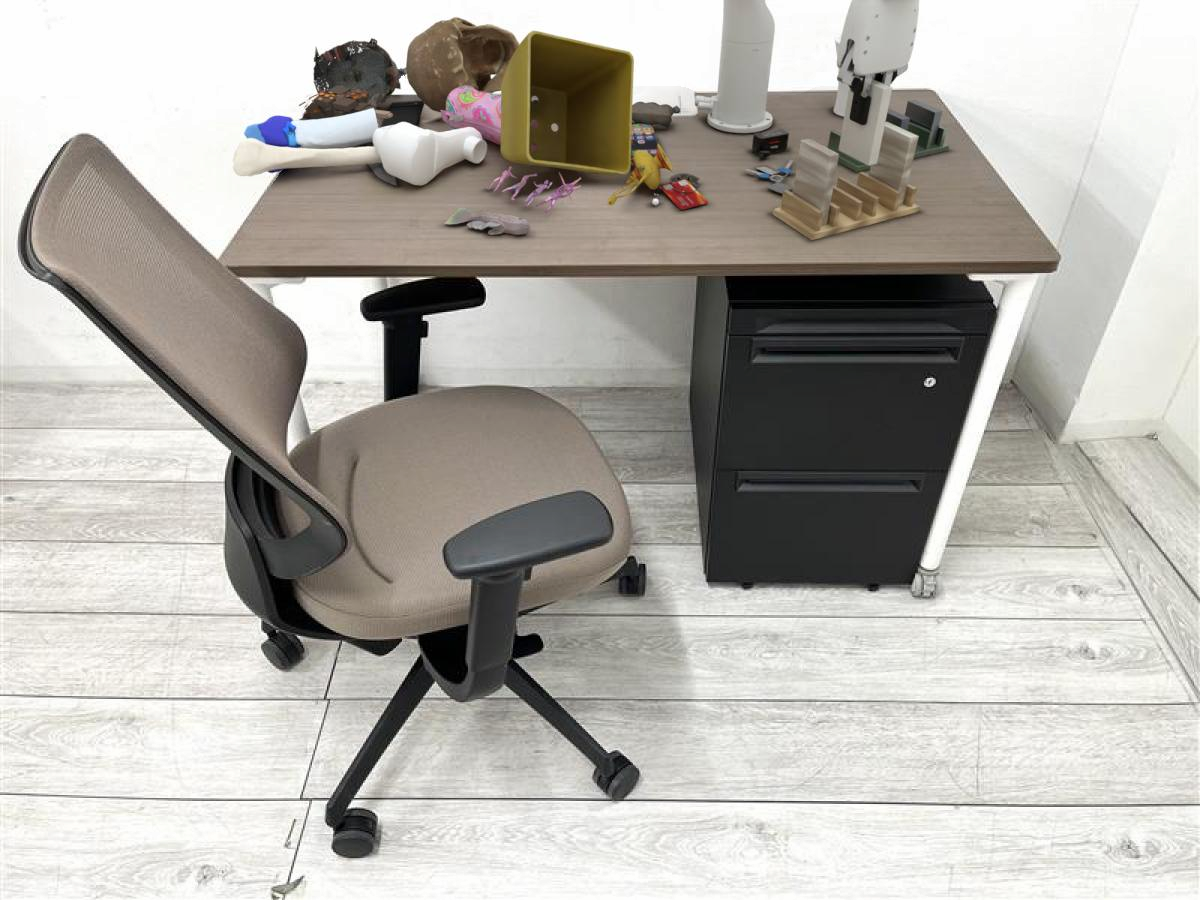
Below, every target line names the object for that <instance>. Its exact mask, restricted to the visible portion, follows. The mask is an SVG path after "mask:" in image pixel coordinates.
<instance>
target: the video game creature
mask: <svg viewBox="0 0 1200 900" xmlns="http://www.w3.org/2000/svg"><path fill="white" fill-rule="evenodd" d="M323 92H324V91H322V92H319V93H316V94H314V95H312V94H311V93H310V94H308V95H306V96H305V98H307V97H308V99H306V101H311V103H310V104H309V103H307V102H306V101H303V102H302V103H300V104H298V106H299V107H301V106H302V105H304V104H306V105H304V107H303V109H304V110H305V111H304V112H303V113H302V115H301V116H302V117H301V118H299V119H298V120H313V119H315V120H316V119H323V118H332V117H338V116H343V115H348V114H352V113H356V112H360V111H364V110H368V109H371V108H374V110H375V114H376V118H377V119H387V118H391V117H392V116H393V114H392V113H391V112H389V111H388V110H381V109H377V107H376V106H374V107H370V105H369V103H367V100H368V99H369V98H370V97H369V92H367V91H365V92H364V91H360V89H356V90H355V89H354V90H353V91H351V88H346V87H342V86H338V85H337V86H335V87H333V88H331V89H330V90H328V91H327V93H323ZM311 95H312V96H311ZM312 98H313V99H312Z"/></svg>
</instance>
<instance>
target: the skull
mask: <svg viewBox="0 0 1200 900" xmlns="http://www.w3.org/2000/svg"><path fill="white" fill-rule="evenodd" d="M519 45H520V42H519V41H518V39H517V37H516V35H514V33H513V32H511V31H509V30H508V29H505V28H501V27H499V26H498V25H495V24H488V23H486V24H480V25H476V24H475V23H473V22H470V21H468V20H467V19H464V18H461V17H458V16H453V17H452V18H450V19H447V20H445V19H443V20H438V21H437V22H435V23H434V24H432V25H431V26H430V27H428V28H427V29H425V30H424V31H422V32H421V33H420V34H418V35H416V36H415V37H413V39H412V40H411V42H410V43H409V45H408V47H407V51H406V64H405V67H406V70H407V74H406V78H407V82H408V84H409V86H410V87H411V88H412V90H413V91H414V93H415V94H416V96H417V97H418V99H420V101H423V103H425V104H424V105H425V106H427V107H428V108H429V109H430V110H432V111H434V112H436V113H441V110H443V111H446V100H447V97H448V95H449V94H450V92H451V91H452V90H454V89H456V88H458V87H461V86H465V85H469V86H471V87H473V88H474V89H475V90H477V91H478V92H484V93H491V94H495V93H496V92H501V84H502V81H503V77H504V74H505V71H506V69H507V66H508V64H509V62H510V60H511V58H512V56H513V54H514V52H515V51H516V49H517V48H518V46H519ZM493 75H494V76H493Z"/></svg>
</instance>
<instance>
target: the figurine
mask: <svg viewBox="0 0 1200 900" xmlns="http://www.w3.org/2000/svg"><path fill="white" fill-rule="evenodd" d="M313 63H314V67H313V73H312V74H313V84H314V87H315V90H316V94H318V93H319V92H322V91H324V92H323V93H327V91H328V90H330V89H331V88H333V87H335V86H337V85H338V86H342V87H346V88H351V91H353V90H354V89H355V90H356V89H360V91H364V92H365V91H367V92H369V97H370V98H369V99H368V100H367V103H369V105H370V107H376V108H378V107H379V106H380V105H381V104H383V103H385V102H386V100H387V99H388V98H389V97H391V96H392V95H393V94H394V92H395V91H396V89H398V90H402V87H401V81H399V79H400V78H401V76H403V75H404V76H405V77H406V76H407V70H406V66H405V67H404V68H401V67H400V69H398V68H399V67H398V65H397V64H396V62H395V61H394V60H393V59H392V57H391V55H390V54H389V52H388V51H387V50H386V49H384V48H383V47H382V46H380V45H379V44H378V40H377V39H375V38H373V37H370V39H369V41H366V40H355V39H353V40H349V41H346V42H344V43H343V44H339V45H336V46H334V47H332V48H331V49H329V50H326V51H324V52H322V53H321V54H319V51H318V47H315V50H314V57H313Z"/></svg>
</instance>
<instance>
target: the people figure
mask: <svg viewBox="0 0 1200 900" xmlns="http://www.w3.org/2000/svg"><path fill="white" fill-rule="evenodd" d="M513 169H514V167H513V165H510V166H509V167H508V169H506V170H504V171H503V172H502V173H501V176H499V177H497V178H495V179H493V180H492V182H491V183H490V186H489V187H485V188H486V190H488V191H490V190H491V188H493V186H494V185H495V183H497V186H496V187H495V189H493V192H494V193H495V192H497V190H498V189H499V188H500V187H501V185H502V184H503V183H504V181H505V180H507V178H509V177H512V178H515V179H518V176H515V175H513V172H512V170H513ZM558 174H559V175H558V176H559V177H560V179H561V182H562V184H561V186H559V187H558V188H557V189H556V190H555V192H554V194H551V195H550V196H548V197H546V199H545V200H542V201H541V202H539V203H538V204H536V205H535V207H536V208H537V207H540V206H541V205H544V204H546V203H548V202H550V206H548V207H547V208H546V209H545V210H544V211H543V212H544V213H545V214H547V212H548V211H550V210H552V208H553V207H554V205H555V203H556V201H557V200H559V199H564V198H567V197H568V198H569V200H570V201H571V203H572V204H573V205H575V203H574V199H573V197H572V196H571V194H572V193H573V192H574V191H575V190H578V189H579V188H581V187H582V186H581V185H578V186H575V185H576V184H577V183H578V182H579V181H580V180H582V178H581V176H580V177H579V178H578V179H576V180H574V181H573V182H571V183H565V180H564V178H563V176H562V174H561V172H558ZM530 177H538V173H534V174H526V175H524V176H523V177H522V179H521V181H520V182H518V183H516V184H514V185H512V186H509V187H506V188H505V189H503V190H501V193H506V192H507V191H510V190H515V192H514V194H513V195H512V197H511V198H510V199H511V200H512V201H516V199H515V198H516V196H517V195H518V194H519V193H520V191H521V189H522V188H524V186H525V185H526V184H527V181H528V180H529V178H530ZM533 184H534V186H535V187H536V189H534V190H533V191H532V192H531V193H530V194H529V195H528V196H527V199H524V200H523V202H524V205H525V206H526V207H527V208H528V206H529V205H530V204H532V203H533V202H534V199H536V197H537V196H540V194H541V193H542V192H543V191H544V190H545V189H547V190H549V189H550V187H551V186H552V185H553V181H551V182H550V181H549V180H548V179H545V180H544V183H539V184H537V183H536V181H533ZM565 192H566V194H563V193H565ZM529 200H530V201H529ZM528 201H529V202H528ZM527 202H528V203H527Z"/></svg>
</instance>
